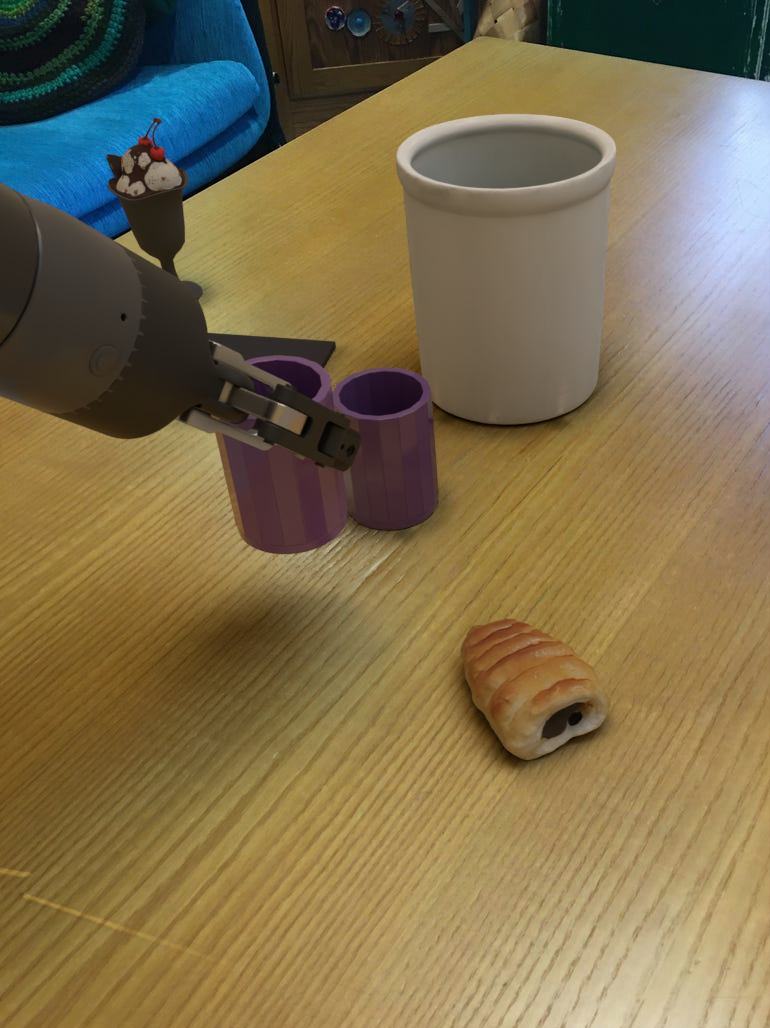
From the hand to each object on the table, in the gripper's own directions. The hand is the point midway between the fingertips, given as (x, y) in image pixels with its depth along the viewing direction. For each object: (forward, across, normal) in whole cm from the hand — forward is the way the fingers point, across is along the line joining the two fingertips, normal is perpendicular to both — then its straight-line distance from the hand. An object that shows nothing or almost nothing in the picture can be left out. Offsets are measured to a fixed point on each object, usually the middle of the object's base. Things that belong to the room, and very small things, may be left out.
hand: (300, 432), depth 59 cm
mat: (+20, +25, -2) cm, 32 cm away
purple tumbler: (+16, +3, +2) cm, 16 cm away
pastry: (+8, -15, +9) cm, 19 cm away
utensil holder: (+28, +5, -11) cm, 31 cm away
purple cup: (+2, 0, +5) cm, 5 cm away
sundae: (+26, +38, -8) cm, 47 cm away
